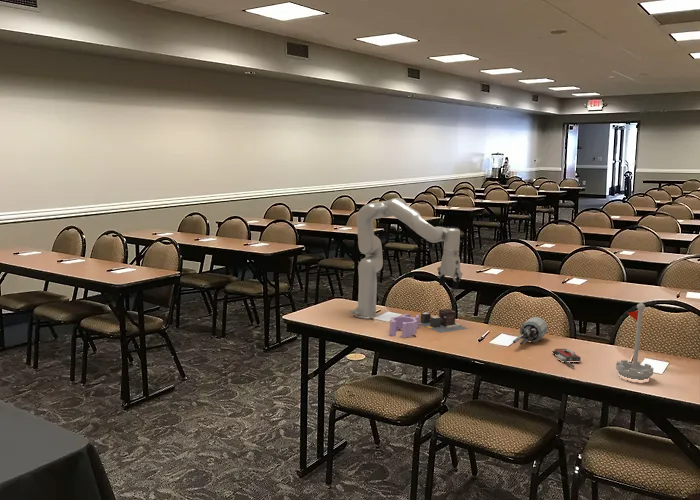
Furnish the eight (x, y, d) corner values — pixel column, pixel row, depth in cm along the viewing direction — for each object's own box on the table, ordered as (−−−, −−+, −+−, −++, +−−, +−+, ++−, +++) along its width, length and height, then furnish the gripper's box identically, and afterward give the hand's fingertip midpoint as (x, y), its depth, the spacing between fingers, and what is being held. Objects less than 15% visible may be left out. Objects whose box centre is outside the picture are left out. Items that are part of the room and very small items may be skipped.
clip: (401, 326, 296) (401, 312, 295) (424, 330, 291) (425, 316, 290) (384, 335, 279) (385, 320, 278) (409, 339, 273) (410, 324, 272)
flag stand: (658, 380, 230) (667, 305, 226) (640, 386, 222) (649, 308, 218) (626, 370, 240) (634, 298, 236) (608, 376, 233) (616, 301, 229)
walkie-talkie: (547, 354, 259) (571, 370, 239) (548, 344, 258) (572, 359, 238) (565, 354, 260) (591, 369, 240) (566, 344, 259) (592, 359, 240)
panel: (440, 335, 282) (440, 331, 282) (414, 325, 298) (414, 321, 298) (468, 330, 292) (468, 326, 291) (441, 321, 308) (441, 317, 308)
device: (526, 334, 289) (527, 314, 287) (547, 338, 284) (548, 318, 282) (507, 350, 263) (509, 328, 261) (530, 354, 258) (532, 332, 256)
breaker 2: (434, 327, 290) (434, 318, 290) (430, 325, 293) (430, 316, 292) (440, 326, 293) (440, 317, 292) (436, 324, 295) (436, 315, 295)
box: (438, 323, 298) (438, 309, 297) (447, 322, 301) (448, 308, 300) (445, 326, 293) (446, 312, 292) (455, 325, 296) (456, 311, 295)
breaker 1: (424, 323, 298) (424, 314, 297) (420, 321, 300) (420, 312, 300) (430, 322, 300) (430, 313, 300) (426, 320, 303) (426, 312, 302)
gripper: (468, 255, 287) (466, 290, 290) (445, 250, 302) (442, 283, 304) (457, 256, 283) (454, 291, 286) (433, 251, 298) (431, 284, 300)
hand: (448, 287), depth 295 cm, fingers open, 9 cm apart
